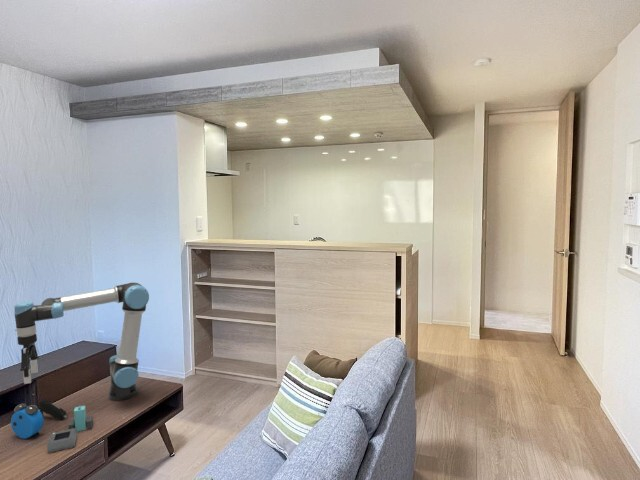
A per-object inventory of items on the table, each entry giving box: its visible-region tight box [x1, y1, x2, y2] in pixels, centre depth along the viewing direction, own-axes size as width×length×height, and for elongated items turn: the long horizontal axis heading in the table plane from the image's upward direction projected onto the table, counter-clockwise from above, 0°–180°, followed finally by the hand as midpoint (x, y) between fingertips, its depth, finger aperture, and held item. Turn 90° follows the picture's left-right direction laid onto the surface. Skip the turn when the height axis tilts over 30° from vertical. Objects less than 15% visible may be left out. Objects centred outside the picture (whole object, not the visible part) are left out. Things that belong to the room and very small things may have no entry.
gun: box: [38, 399, 68, 421], centre depth 211 cm, size 3×16×10 cm, turn 78°
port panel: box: [46, 428, 78, 454], centre depth 187 cm, size 10×10×4 cm
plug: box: [73, 404, 87, 432], centre depth 200 cm, size 4×4×11 cm
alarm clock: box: [10, 403, 45, 439], centre depth 195 cm, size 13×6×15 cm, turn 75°
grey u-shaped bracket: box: [67, 415, 94, 431], centre depth 201 cm, size 9×7×4 cm
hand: (31, 377), depth 201 cm, fingers open, 13 cm apart
